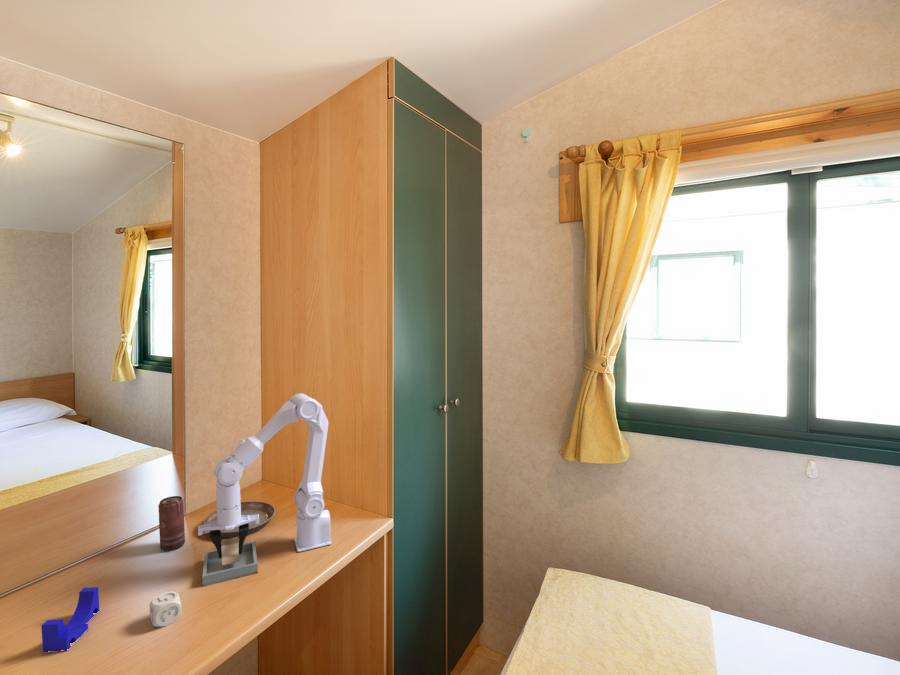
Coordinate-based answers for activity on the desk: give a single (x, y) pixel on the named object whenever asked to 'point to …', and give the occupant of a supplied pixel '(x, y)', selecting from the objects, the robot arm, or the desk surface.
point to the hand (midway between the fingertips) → (230, 554)
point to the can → (171, 523)
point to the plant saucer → (248, 509)
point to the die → (165, 609)
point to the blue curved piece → (71, 623)
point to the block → (230, 551)
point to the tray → (229, 565)
